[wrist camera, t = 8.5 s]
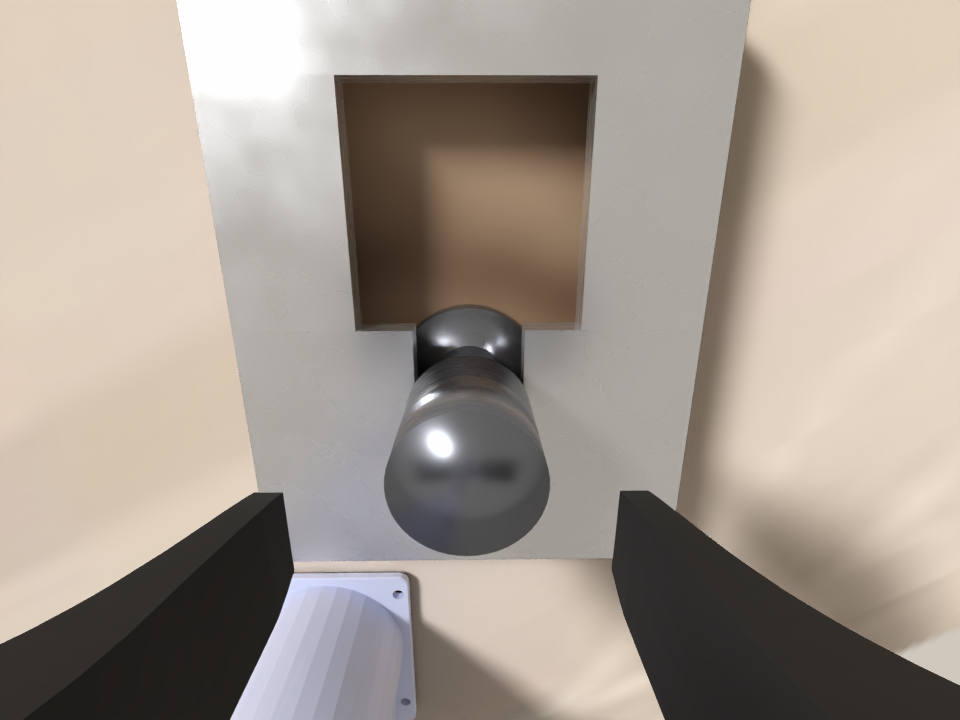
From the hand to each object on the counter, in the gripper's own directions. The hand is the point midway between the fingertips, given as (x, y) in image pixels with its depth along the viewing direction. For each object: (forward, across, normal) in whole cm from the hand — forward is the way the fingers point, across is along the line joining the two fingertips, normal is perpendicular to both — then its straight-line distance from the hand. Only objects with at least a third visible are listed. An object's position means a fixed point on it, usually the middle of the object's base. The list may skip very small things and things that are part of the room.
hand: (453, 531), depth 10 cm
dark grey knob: (+9, 0, 0) cm, 9 cm away
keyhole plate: (+9, 0, -4) cm, 10 cm away
